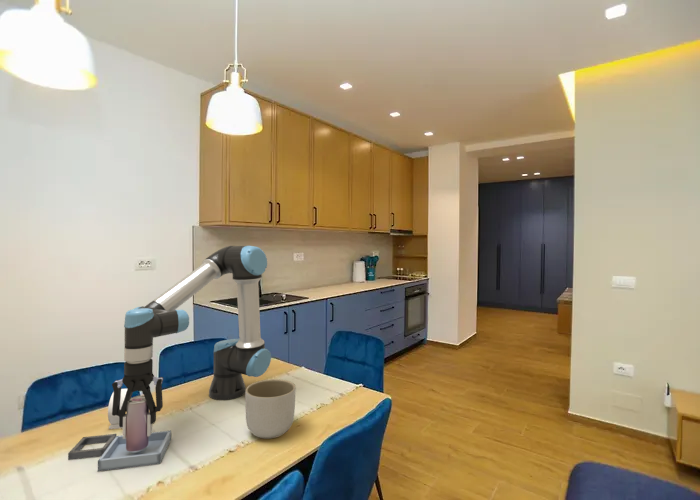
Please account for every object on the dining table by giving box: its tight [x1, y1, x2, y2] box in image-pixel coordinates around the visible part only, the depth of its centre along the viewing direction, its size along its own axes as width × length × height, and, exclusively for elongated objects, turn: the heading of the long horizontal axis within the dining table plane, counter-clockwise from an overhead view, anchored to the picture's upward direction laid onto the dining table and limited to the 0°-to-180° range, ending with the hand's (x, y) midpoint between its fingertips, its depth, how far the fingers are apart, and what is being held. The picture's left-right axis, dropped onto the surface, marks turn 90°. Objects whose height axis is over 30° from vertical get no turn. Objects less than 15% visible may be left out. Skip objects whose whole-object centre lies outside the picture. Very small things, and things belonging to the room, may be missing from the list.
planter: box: [244, 378, 297, 440], centre depth 125 cm, size 17×17×15 cm
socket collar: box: [67, 433, 118, 461], centre depth 112 cm, size 10×10×2 cm
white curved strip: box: [107, 388, 128, 430], centre depth 127 cm, size 5×6×12 cm
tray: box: [97, 429, 172, 473], centre depth 110 cm, size 16×14×3 cm
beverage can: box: [126, 395, 150, 453], centre depth 110 cm, size 6×6×15 cm
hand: (137, 435), depth 110 cm, fingers closed on beverage can, 6 cm apart
